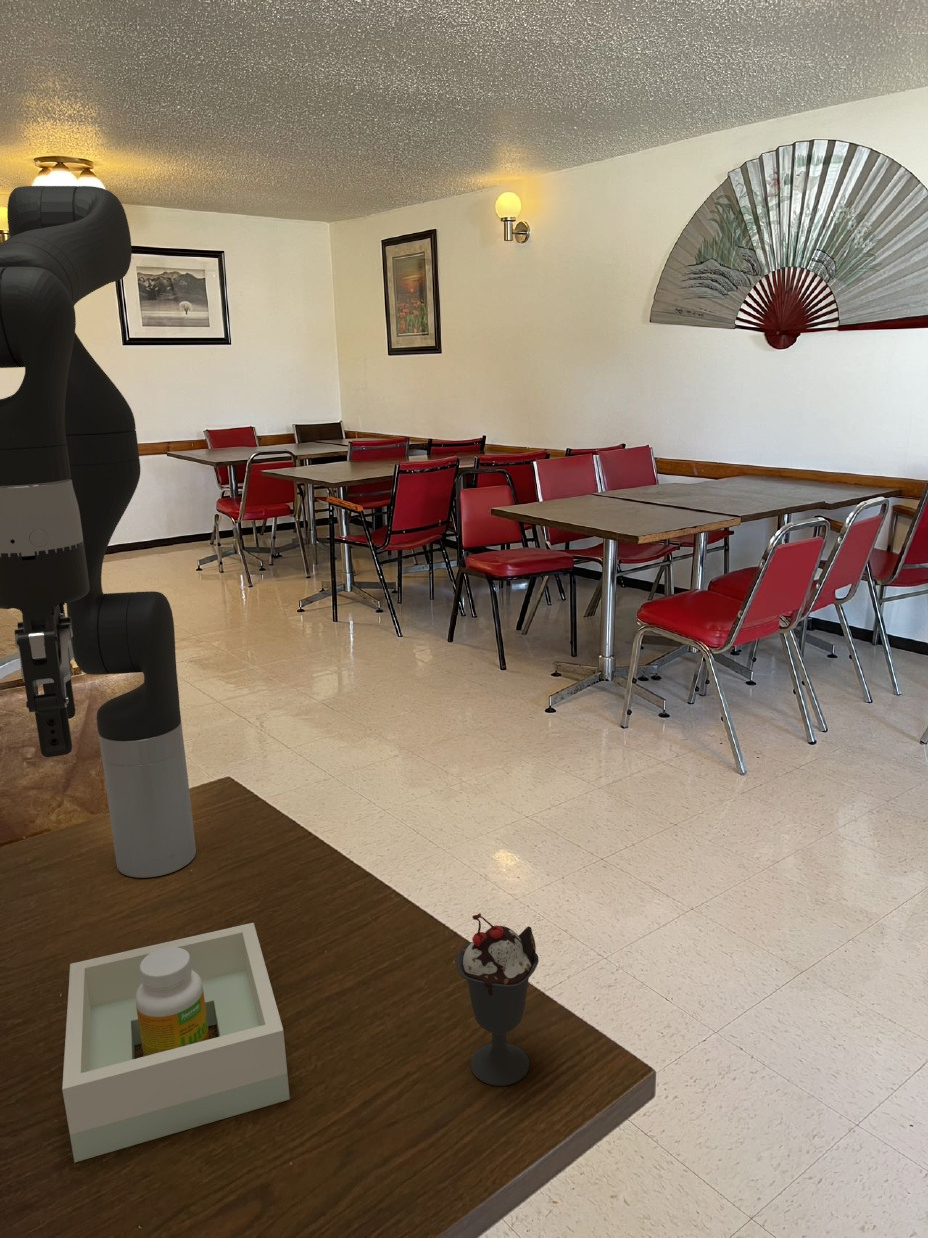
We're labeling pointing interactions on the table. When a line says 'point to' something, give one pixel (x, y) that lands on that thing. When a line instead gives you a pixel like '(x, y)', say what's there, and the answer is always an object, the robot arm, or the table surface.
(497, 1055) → the sundae
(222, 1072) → the bore box
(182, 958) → the supplement bottle
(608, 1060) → the table surface
